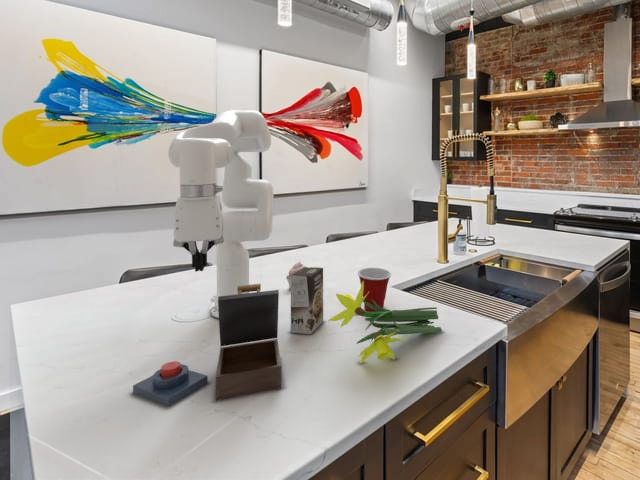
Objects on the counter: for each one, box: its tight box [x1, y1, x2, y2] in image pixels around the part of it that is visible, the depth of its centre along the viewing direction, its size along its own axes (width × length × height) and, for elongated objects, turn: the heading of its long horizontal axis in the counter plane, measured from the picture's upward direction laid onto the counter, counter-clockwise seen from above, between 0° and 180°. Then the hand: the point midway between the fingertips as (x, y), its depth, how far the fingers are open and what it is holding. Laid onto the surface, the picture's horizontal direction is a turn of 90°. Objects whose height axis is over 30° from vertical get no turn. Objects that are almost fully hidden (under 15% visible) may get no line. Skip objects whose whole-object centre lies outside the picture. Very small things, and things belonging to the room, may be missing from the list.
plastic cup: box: [357, 267, 392, 312], centre depth 130 cm, size 11×11×12 cm
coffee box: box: [290, 266, 324, 335], centre depth 116 cm, size 9×6×16 cm
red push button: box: [160, 360, 182, 378], centre depth 85 cm, size 4×4×2 cm
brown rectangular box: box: [215, 338, 282, 402], centre depth 89 cm, size 14×13×5 cm
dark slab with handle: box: [218, 283, 280, 347], centre depth 95 cm, size 14×13×6 cm
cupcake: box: [285, 261, 307, 291], centre depth 150 cm, size 9×9×10 cm
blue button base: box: [132, 363, 209, 407], centre depth 85 cm, size 11×9×4 cm
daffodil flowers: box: [327, 281, 442, 364], centre depth 102 cm, size 17×15×35 cm
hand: (199, 269), depth 95 cm, fingers closed
